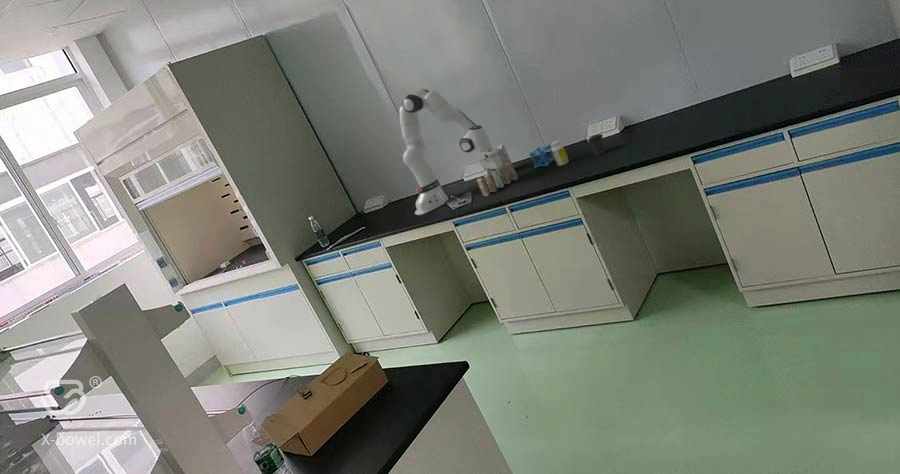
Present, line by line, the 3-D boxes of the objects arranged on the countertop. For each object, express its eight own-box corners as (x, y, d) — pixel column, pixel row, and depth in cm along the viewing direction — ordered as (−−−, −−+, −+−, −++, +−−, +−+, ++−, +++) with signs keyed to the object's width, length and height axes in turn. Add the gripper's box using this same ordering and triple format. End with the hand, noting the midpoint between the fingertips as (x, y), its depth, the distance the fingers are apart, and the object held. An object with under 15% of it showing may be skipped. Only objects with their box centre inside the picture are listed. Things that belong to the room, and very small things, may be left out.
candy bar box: (506, 170, 396) (496, 146, 392) (513, 167, 395) (503, 143, 390) (504, 175, 386) (494, 151, 382) (512, 172, 385) (502, 147, 380)
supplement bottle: (570, 159, 354) (562, 138, 351) (566, 164, 349) (558, 142, 346) (560, 162, 358) (551, 141, 355) (556, 167, 353) (547, 146, 350)
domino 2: (494, 191, 361) (487, 176, 359) (490, 191, 366) (483, 175, 363) (497, 190, 362) (490, 174, 359) (493, 189, 367) (486, 174, 364)
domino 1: (487, 196, 360) (480, 180, 357) (483, 195, 365) (476, 179, 362) (490, 194, 361) (483, 178, 358) (486, 194, 365) (479, 178, 362)
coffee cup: (609, 151, 336) (603, 134, 333) (595, 157, 337) (588, 140, 334) (606, 149, 344) (599, 131, 341) (592, 155, 345) (585, 138, 342)
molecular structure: (557, 159, 369) (550, 143, 366) (548, 166, 362) (541, 150, 360) (543, 162, 376) (537, 146, 373) (534, 169, 370) (528, 153, 367)
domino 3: (508, 183, 365) (501, 168, 362) (504, 183, 369) (497, 168, 366) (511, 182, 365) (504, 166, 362) (507, 182, 370) (500, 166, 367)
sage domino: (501, 187, 363) (494, 172, 360) (497, 187, 368) (490, 171, 365) (504, 186, 364) (497, 170, 361) (500, 185, 368) (493, 170, 366)
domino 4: (515, 179, 366) (508, 164, 363) (511, 179, 371) (504, 164, 368) (518, 178, 367) (511, 162, 364) (513, 178, 371) (507, 162, 368)
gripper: (473, 155, 368) (482, 177, 372) (489, 155, 350) (499, 177, 353) (482, 150, 370) (491, 172, 374) (499, 150, 351) (508, 172, 355)
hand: (495, 175), depth 364 cm, fingers open, 8 cm apart
